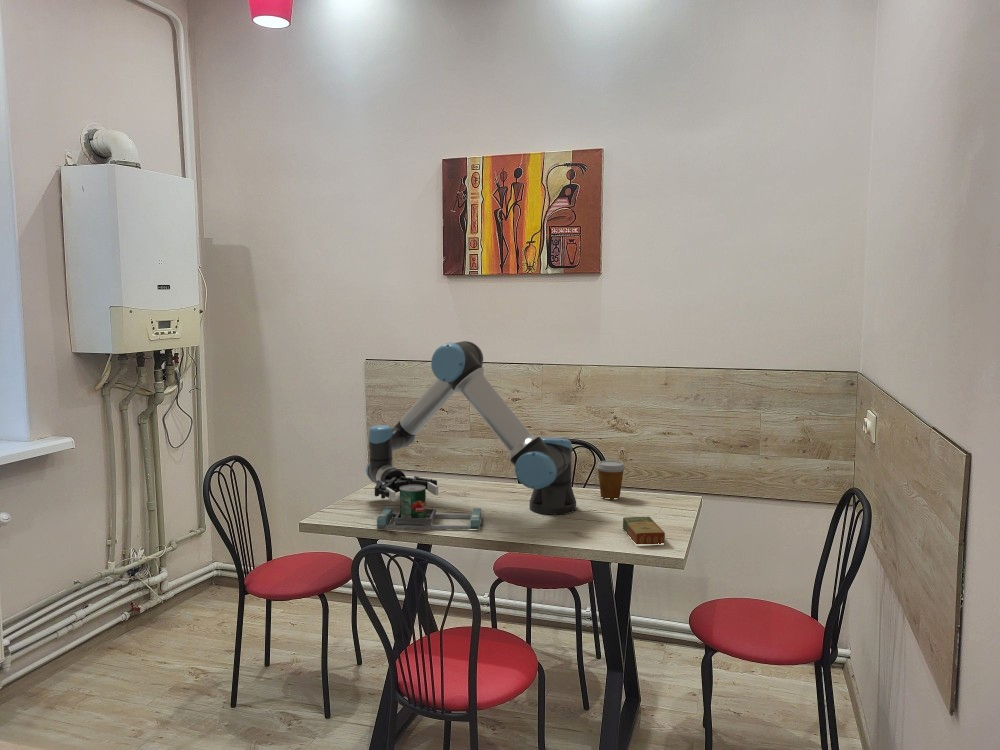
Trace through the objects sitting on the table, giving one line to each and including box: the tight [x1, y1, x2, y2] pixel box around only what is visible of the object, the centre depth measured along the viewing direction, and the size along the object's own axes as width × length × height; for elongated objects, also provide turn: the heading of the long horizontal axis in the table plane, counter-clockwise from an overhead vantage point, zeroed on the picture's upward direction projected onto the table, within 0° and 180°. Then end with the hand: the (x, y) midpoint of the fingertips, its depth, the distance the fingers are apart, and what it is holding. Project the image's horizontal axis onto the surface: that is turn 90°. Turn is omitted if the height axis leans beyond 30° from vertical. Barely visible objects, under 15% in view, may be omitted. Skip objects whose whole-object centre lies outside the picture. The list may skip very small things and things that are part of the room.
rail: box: [376, 512, 480, 530], centre depth 231 cm, size 30×13×1 cm, turn 88°
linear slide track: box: [376, 506, 482, 530], centre depth 231 cm, size 30×13×3 cm, turn 88°
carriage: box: [393, 508, 437, 525], centre depth 231 cm, size 11×13×2 cm
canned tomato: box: [399, 485, 427, 518], centre depth 231 cm, size 8×8×11 cm
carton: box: [622, 516, 666, 544], centre depth 219 cm, size 8×16×4 cm, turn 4°
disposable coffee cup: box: [596, 460, 626, 499], centre depth 260 cm, size 10×10×12 cm
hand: (416, 493), depth 227 cm, fingers open, 13 cm apart
